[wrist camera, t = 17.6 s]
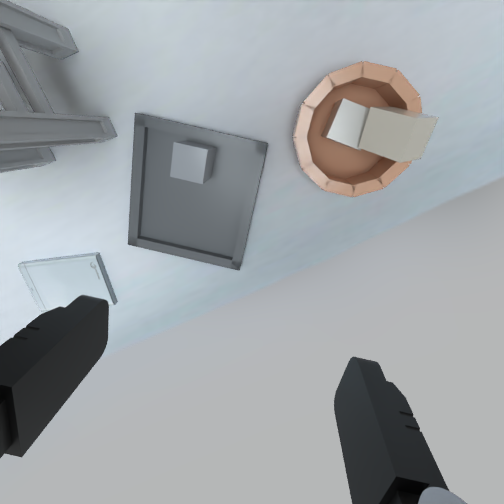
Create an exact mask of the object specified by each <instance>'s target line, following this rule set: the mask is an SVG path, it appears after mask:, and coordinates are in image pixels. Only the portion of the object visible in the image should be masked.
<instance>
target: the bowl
mask: <svg viewBox="0 0 504 504" xmlns="http://www.w3.org/2000/svg"><path fill="white" fill-rule="evenodd" d="M396 70H397V69H396V68H392V67H387V66H383V65H379V64H374V63H370V62H366V61H364V62H362V61H361V62H359V63H356V64H353V65H351V66H348V67H345V68H342V69H340V70H337V71H334V72H331V73H329V74H328V75H326V76H325V78H324V79H323V80H322V81H321V82H320V83H319V84H318V86H317V87H316V88H315V89H314V90H313V91H312V92H311V94H310V95H309V96H308V97H307V98H306V99H305V100H304V102H303V103H302V104H301V105H300V107H299V111H298V115H297V119H296V122H295V127H294V131H293V135H292V136H293V137H292V138H293V142H294V146H295V151H296V154H297V158H298V162H299V165H300V167H301V168H302V170H303V171H304V172H305V173H306V174H307V175H308V176H309V177H310V178H311V179H312V180H313V181H314V182H315V183H316V184H317V185H318V186H319V187H320V188H321V189H322V190H324V191H328V192H332V193H336V194H340V195H345V196H349V197H352V196H353V197H356V196H359V195H363V194H366V193H370V192H373V191H377V190H381V189H383V187H384V188H385V187H386V186H387V185H389V184H390V183H391V182H392V181H393V180H394V179H395V178H396V177H397V176H399V175H400V174H401V173H402V172H403V171H404V170H405V169H406V168H407V167H409V164H411V162H412V161H407V162H402V163H399V162H397V161H394V160H391V159H388V158H386V157H383V156H380V155H377V154H375V153H372V152H369V151H366V150H364V149H361V151H360V150H356V149H353V148H350V147H347V146H345V145H342V144H339V143H337V142H334V141H332V140H329V139H327V138H324V137H322V136H321V135H322V133H323V130H324V128H325V126H326V123H327V121H328V118H329V116H330V114H331V111H332V109H333V107H334V104H335V102H337V101H339V100H341V99H343V98H344V99H347V100H349V101H352V102H354V103H357V104H359V105H362V106H364V107H367V108H369V109H370V107H397V108H401V109H405V110H409V111H413V112H418V113H422V108H421V99H420V97H418V96H419V94H418V92H417V91H416V90H415V89H414V88H413V86H412V85H411V84H410V83H409V82H408V80H407V79H406V78H405V77H404V76H403V75H402V73H401V72H400V71H399V70H397V71H396Z"/></svg>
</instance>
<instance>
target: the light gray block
mask: <svg viewBox="0 0 504 504" xmlns="http://www.w3.org/2000/svg"><path fill="white" fill-rule="evenodd" d="M215 152H216V147H213V146H208V145H204V144H200V143H195V142H191V141H187V140H185V141H177V142H174V144H173V154H172V163H171V173H170V177H174V178H178V179H183V180H187V181H191V182H195V183H200V184H204V183H205V182H206V181H208V180H209V179H210V178H211V177H212V171H213V164H214V158H215Z"/></svg>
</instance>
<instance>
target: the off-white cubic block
mask: <svg viewBox="0 0 504 504" xmlns="http://www.w3.org/2000/svg"><path fill="white" fill-rule="evenodd" d="M438 118H439V117H435V116H430V115H426V114H422V113H418V112H413V111H409V110H405V109H401V108H397V107H370V111H369V114H368V117H367V120H366V124H365V127H364V130H363V134H362V137H361V140H360V143H359V147H358V148H361V149H364V150H366V151H369V152H372V153H375V154H377V155H380V156H383V157H386V158H388V159H391V160H394V161H397V162H399V163H402V162H407V161H412V160H417V159H421V157H422V155H423V152H424V150H425V148H426V146H427V143H428V141H429V139H430V136H431V134H432V132H433V129H434V127H435V125H436V122H437V120H438Z"/></svg>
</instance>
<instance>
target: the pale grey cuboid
mask: <svg viewBox="0 0 504 504" xmlns="http://www.w3.org/2000/svg"><path fill="white" fill-rule="evenodd" d="M369 111H370V109H369V108H367V107H364V106H362V105H359V104H357V103H354V102H352V101H349V100H347V99H344V98H343V99H341V100H339V101H337V102H335V104H334V107H333V109H332V111H331V114H330V116H329V118H328V121H327V123H326V126H325V128H324V130H323V133H322V135H321V136H322V137H324V138H327V139H329V140H332V141H334V142H337V143H339V144H342V145H345V146H347V147H350V148H353V149H356V150H360V151H361V148H358V147H359V143H360V140H361V137H362V134H363V130H364V127H365V124H366V120H367V117H368V114H369Z"/></svg>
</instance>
